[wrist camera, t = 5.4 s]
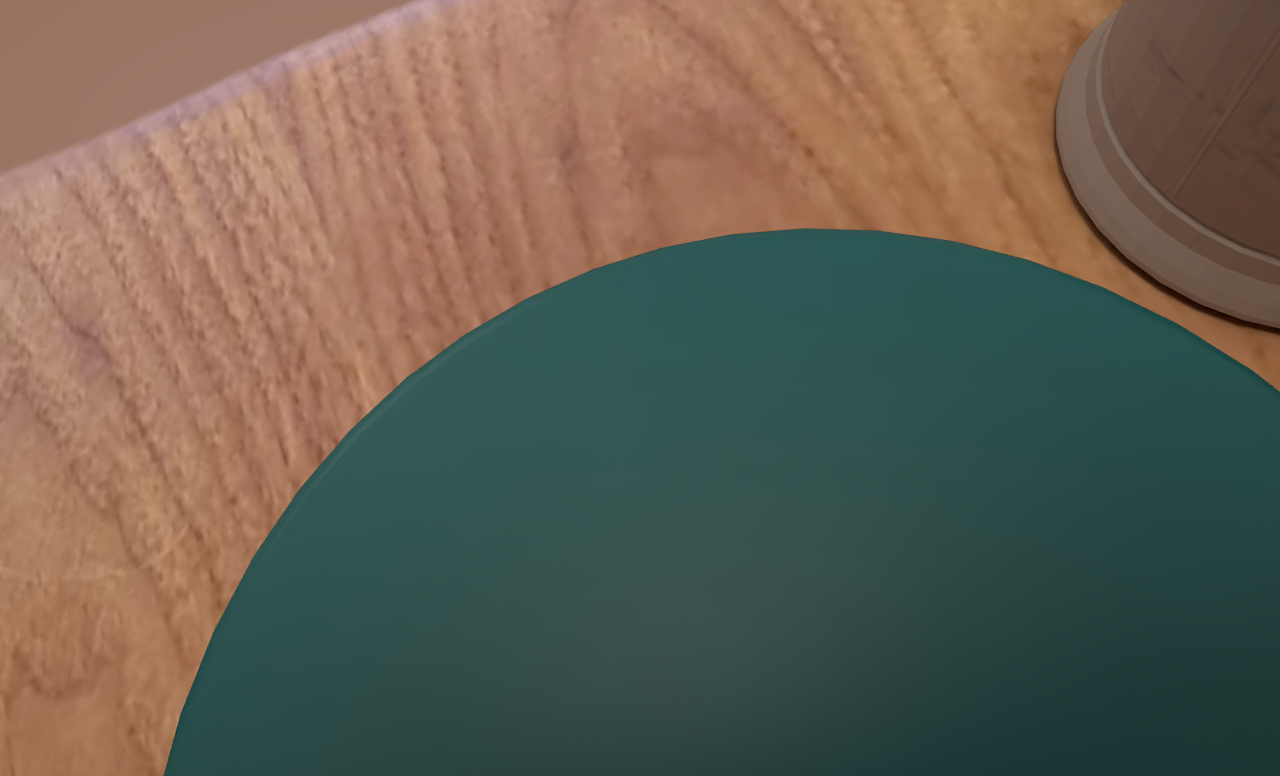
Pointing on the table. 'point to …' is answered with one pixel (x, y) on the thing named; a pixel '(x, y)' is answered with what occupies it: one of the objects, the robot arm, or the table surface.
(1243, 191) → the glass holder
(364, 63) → the table surface
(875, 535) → the cylinder
